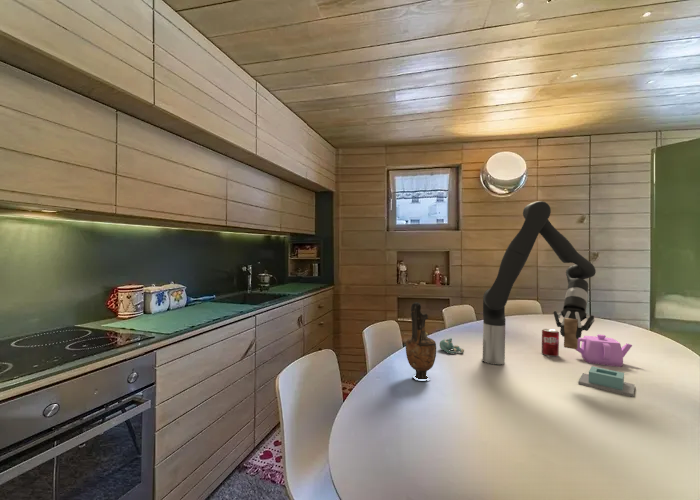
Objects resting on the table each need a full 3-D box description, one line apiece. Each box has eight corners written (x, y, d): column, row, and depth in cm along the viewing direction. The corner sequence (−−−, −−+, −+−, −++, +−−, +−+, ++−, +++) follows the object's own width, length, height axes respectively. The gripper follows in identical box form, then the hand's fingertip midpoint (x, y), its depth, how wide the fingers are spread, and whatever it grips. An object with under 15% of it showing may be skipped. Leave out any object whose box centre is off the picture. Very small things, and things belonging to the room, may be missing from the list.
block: (564, 347, 128) (564, 318, 128) (565, 345, 130) (565, 317, 130) (576, 349, 125) (576, 320, 125) (577, 348, 127) (577, 319, 127)
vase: (441, 378, 129) (442, 301, 129) (424, 387, 120) (426, 304, 120) (415, 370, 137) (416, 298, 137) (397, 378, 128) (399, 301, 128)
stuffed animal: (463, 345, 157) (438, 337, 163) (460, 360, 158) (435, 351, 164) (467, 340, 166) (444, 332, 172) (464, 354, 167) (441, 345, 173)
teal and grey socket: (578, 383, 127) (578, 370, 127) (582, 375, 136) (583, 363, 136) (633, 396, 116) (633, 382, 116) (634, 386, 125) (634, 373, 125)
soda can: (561, 357, 159) (561, 332, 159) (544, 356, 160) (545, 331, 160) (555, 353, 166) (555, 329, 166) (539, 352, 167) (539, 328, 167)
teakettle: (570, 357, 159) (571, 332, 159) (592, 354, 166) (593, 329, 166) (610, 369, 144) (611, 341, 144) (633, 365, 151) (633, 337, 151)
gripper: (554, 293, 138) (547, 327, 129) (596, 297, 128) (592, 334, 119) (556, 305, 142) (550, 338, 133) (598, 309, 132) (594, 345, 123)
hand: (570, 336), depth 126 cm, fingers closed on block, 4 cm apart
